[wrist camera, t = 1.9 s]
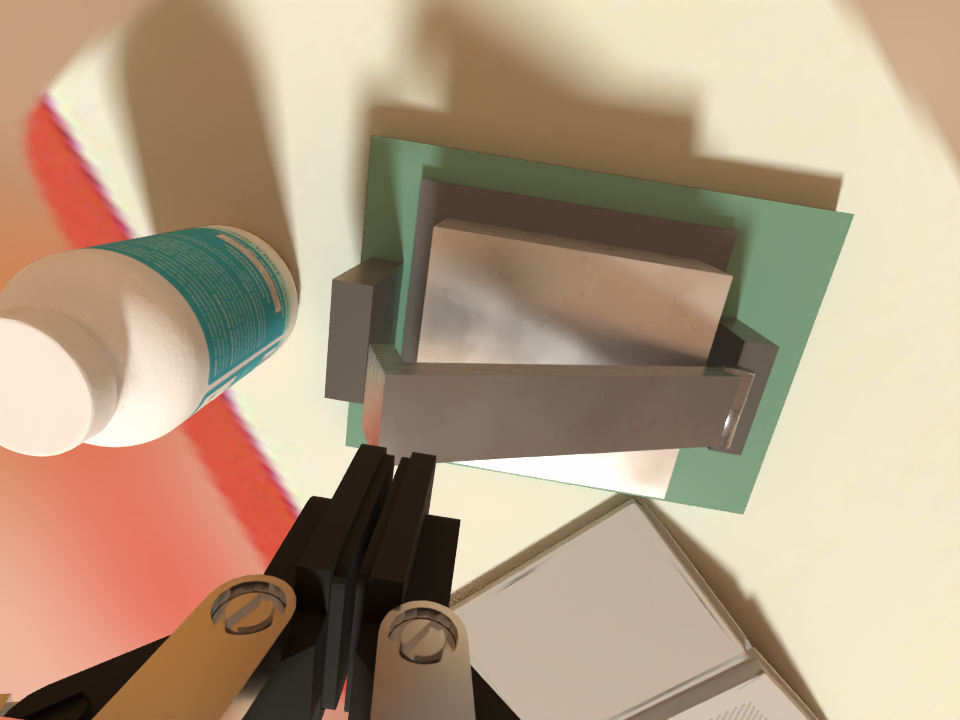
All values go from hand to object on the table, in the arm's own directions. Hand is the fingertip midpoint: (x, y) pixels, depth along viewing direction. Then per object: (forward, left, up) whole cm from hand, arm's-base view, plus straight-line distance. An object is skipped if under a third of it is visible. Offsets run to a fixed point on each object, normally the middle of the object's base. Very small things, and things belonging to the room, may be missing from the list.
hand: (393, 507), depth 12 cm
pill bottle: (+12, +1, -18) cm, 22 cm away
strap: (-4, 0, -10) cm, 10 cm away
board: (-6, 0, -18) cm, 19 cm away
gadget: (-15, +22, -19) cm, 32 cm away
